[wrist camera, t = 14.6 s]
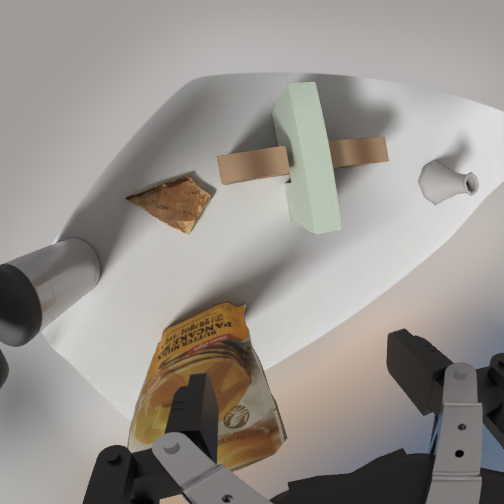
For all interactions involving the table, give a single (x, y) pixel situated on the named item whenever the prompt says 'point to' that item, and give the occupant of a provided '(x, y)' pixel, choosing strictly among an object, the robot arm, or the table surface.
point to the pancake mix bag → (224, 384)
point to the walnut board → (276, 163)
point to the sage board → (307, 159)
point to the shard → (174, 202)
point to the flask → (445, 183)
